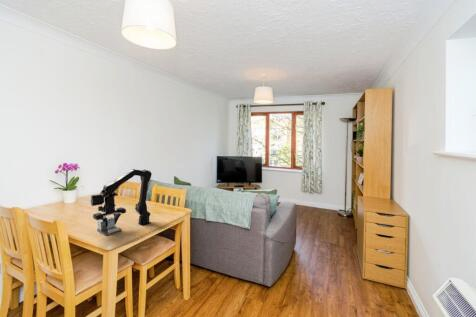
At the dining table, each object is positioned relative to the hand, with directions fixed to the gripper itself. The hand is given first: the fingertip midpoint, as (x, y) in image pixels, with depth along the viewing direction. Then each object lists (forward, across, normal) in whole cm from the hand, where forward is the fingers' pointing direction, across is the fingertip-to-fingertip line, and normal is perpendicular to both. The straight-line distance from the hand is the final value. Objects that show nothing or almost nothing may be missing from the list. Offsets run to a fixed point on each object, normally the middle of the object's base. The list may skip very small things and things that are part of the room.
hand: (110, 225), depth 153 cm
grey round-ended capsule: (+2, 0, 0) cm, 2 cm away
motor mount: (+4, 0, -2) cm, 5 cm away
